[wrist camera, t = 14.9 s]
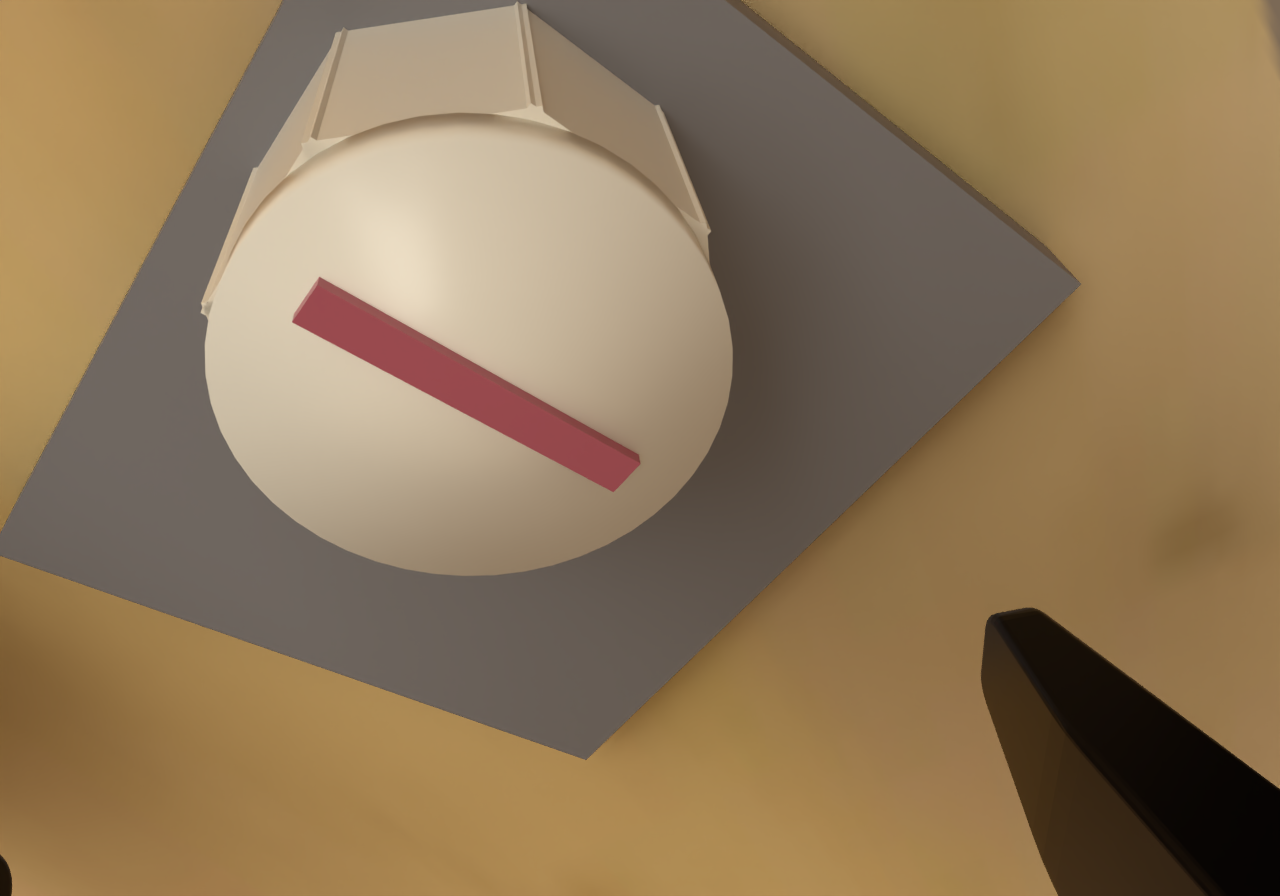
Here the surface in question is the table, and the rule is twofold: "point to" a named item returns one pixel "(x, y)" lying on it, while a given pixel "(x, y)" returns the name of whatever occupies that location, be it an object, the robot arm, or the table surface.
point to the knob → (468, 302)
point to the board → (702, 509)
